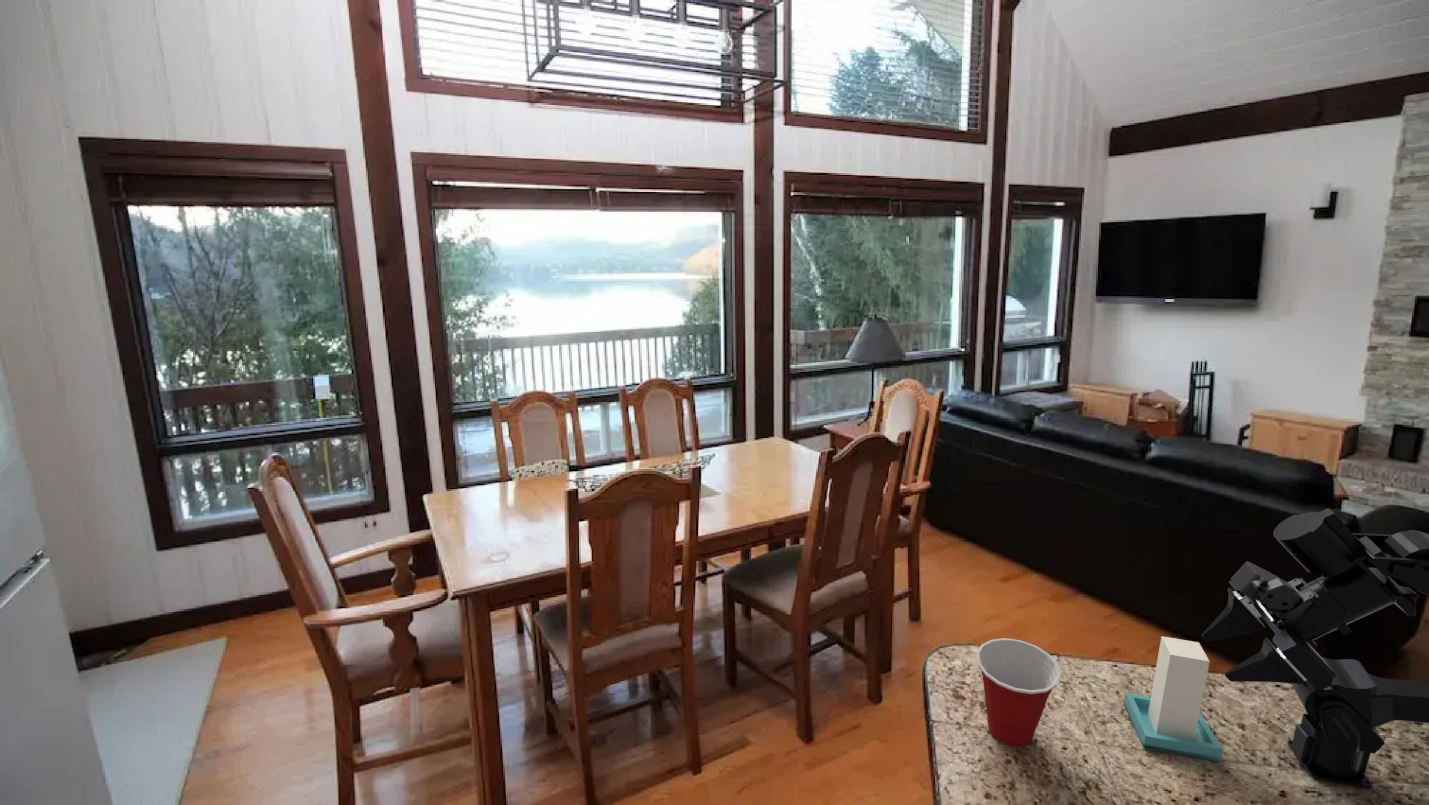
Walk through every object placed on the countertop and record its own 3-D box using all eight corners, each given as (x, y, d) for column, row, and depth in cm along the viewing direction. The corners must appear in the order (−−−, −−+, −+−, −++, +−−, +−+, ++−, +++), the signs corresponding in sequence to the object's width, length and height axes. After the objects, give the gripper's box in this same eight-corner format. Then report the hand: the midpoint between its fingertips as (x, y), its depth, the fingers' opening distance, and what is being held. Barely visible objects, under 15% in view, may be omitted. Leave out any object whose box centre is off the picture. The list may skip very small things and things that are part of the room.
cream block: (1184, 720, 95) (1198, 642, 92) (1193, 742, 91) (1209, 661, 88) (1148, 713, 96) (1161, 636, 93) (1156, 734, 92) (1170, 654, 89)
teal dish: (1193, 715, 97) (1195, 704, 96) (1219, 761, 88) (1222, 749, 88) (1123, 704, 99) (1125, 693, 99) (1143, 748, 91) (1145, 736, 90)
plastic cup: (964, 746, 92) (971, 672, 89) (974, 698, 101) (980, 630, 98) (1051, 773, 87) (1061, 696, 84) (1052, 721, 96) (1062, 650, 93)
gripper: (1258, 522, 92) (1155, 579, 98) (1324, 588, 75) (1194, 651, 81) (1316, 582, 91) (1208, 636, 97) (1396, 662, 74) (1258, 720, 81)
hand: (1214, 657), depth 89 cm, fingers open, 9 cm apart
